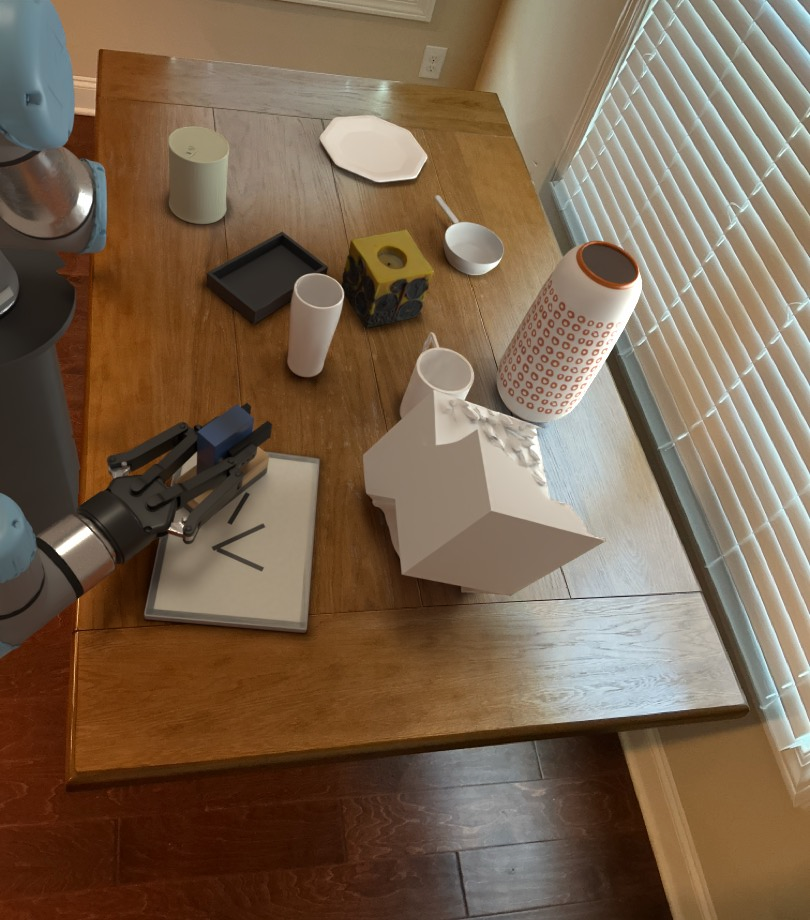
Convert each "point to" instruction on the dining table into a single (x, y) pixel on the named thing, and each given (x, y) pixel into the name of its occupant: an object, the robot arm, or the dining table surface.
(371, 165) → the plate
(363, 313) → the candle
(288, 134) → the dining table surface
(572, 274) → the patterned vase
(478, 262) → the small pan
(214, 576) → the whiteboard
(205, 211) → the can
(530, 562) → the tissue box
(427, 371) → the cup
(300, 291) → the drinking glass
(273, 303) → the tray
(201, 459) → the blue block with base
